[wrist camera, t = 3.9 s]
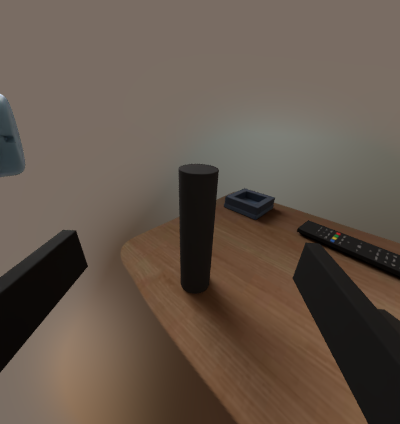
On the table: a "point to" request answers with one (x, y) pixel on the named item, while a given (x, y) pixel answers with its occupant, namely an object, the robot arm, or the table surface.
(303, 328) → the table surface
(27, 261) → the robot arm
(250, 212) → the socket pad
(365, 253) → the remote control
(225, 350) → the table surface
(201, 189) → the tall dark cylinder
